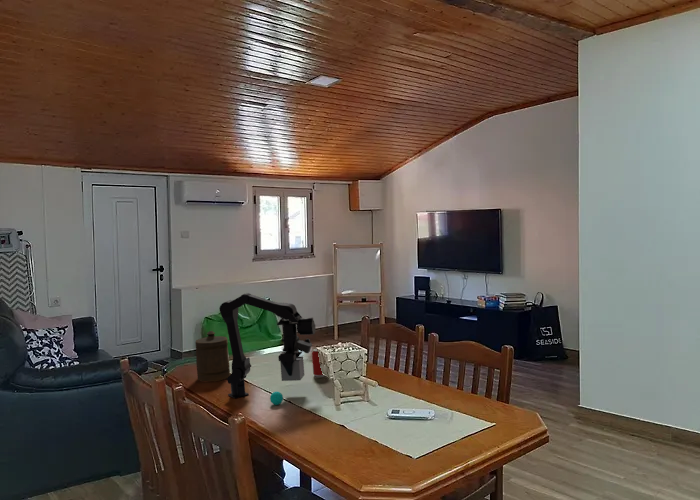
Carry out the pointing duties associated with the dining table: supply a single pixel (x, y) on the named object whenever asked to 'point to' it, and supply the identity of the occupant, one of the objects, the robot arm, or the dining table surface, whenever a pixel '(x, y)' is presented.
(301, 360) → the dark grey block
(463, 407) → the dining table surface
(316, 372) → the beverage can
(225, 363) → the wooden container
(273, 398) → the ball
